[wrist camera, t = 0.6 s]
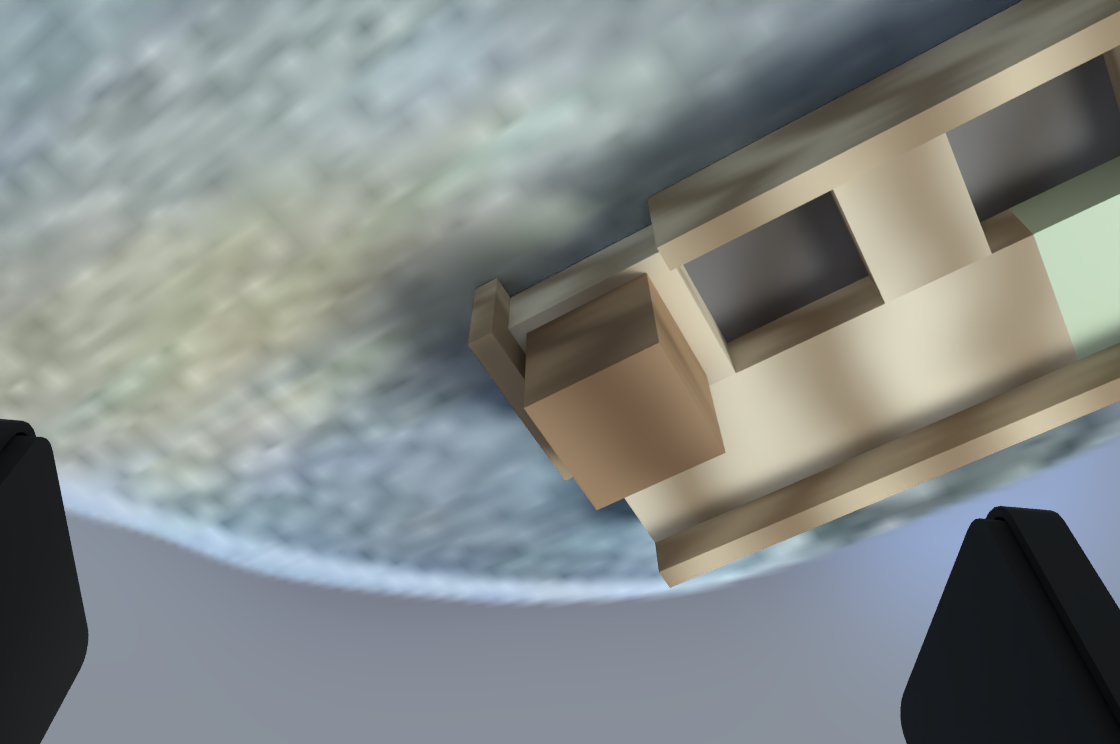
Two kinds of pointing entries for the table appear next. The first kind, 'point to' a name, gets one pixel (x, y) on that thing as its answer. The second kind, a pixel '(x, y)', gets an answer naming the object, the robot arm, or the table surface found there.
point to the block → (620, 394)
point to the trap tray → (862, 285)
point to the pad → (1082, 252)
